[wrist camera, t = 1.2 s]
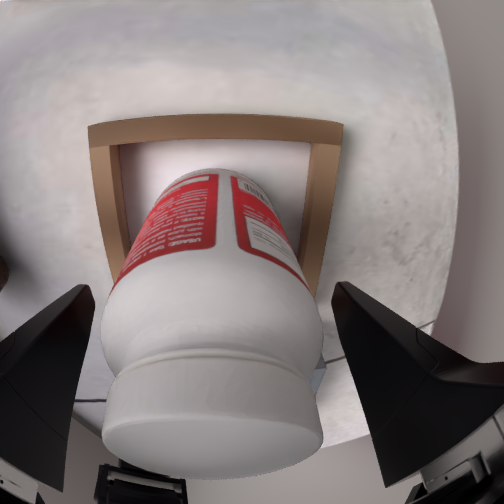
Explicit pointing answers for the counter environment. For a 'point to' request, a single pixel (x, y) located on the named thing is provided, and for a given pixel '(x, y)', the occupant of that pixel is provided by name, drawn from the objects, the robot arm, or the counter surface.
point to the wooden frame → (218, 127)
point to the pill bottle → (211, 338)
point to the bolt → (3, 273)
